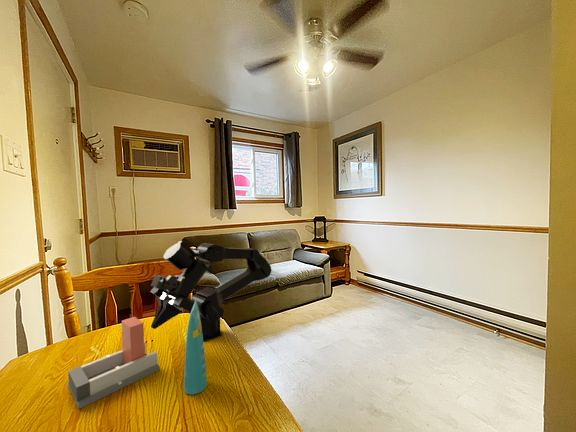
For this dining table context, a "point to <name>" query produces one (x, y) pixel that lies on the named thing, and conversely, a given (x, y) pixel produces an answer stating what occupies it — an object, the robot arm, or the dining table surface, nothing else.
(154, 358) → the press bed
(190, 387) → the tube
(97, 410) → the dining table surface
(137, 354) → the plug
